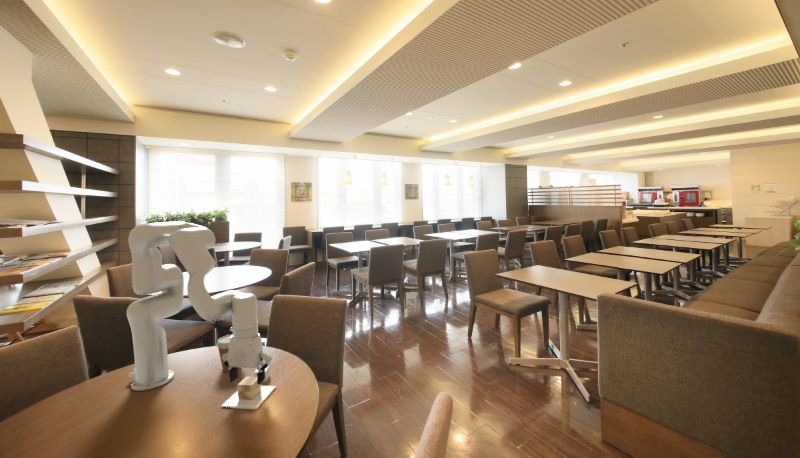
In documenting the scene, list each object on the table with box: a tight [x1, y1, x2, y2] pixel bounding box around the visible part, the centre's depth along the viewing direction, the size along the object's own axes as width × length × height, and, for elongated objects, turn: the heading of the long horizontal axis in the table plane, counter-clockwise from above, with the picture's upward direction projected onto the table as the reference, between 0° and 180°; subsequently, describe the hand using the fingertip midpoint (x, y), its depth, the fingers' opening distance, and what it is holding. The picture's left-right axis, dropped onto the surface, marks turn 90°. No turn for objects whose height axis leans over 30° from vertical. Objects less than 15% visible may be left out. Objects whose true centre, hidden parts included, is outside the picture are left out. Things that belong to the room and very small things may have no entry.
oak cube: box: [236, 376, 262, 400], centre depth 107 cm, size 5×5×5 cm
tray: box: [221, 384, 277, 410], centre depth 108 cm, size 12×12×1 cm
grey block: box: [254, 365, 270, 383], centre depth 119 cm, size 4×4×4 cm
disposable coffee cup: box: [216, 333, 240, 373], centre depth 127 cm, size 10×10×12 cm
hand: (247, 380), depth 107 cm, fingers open, 9 cm apart
